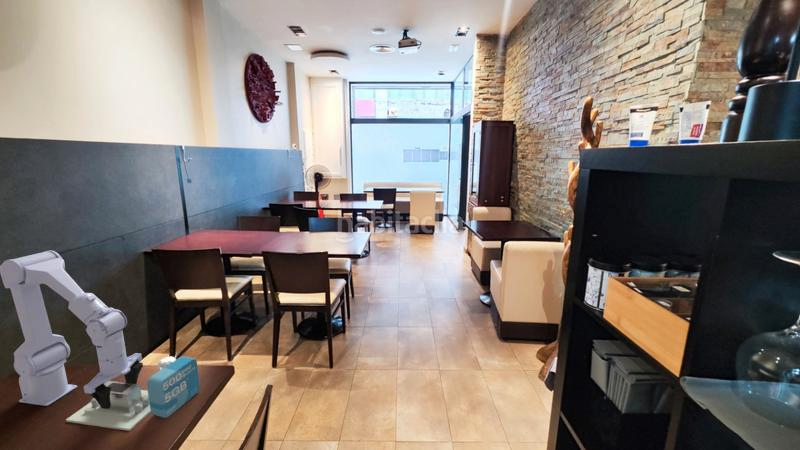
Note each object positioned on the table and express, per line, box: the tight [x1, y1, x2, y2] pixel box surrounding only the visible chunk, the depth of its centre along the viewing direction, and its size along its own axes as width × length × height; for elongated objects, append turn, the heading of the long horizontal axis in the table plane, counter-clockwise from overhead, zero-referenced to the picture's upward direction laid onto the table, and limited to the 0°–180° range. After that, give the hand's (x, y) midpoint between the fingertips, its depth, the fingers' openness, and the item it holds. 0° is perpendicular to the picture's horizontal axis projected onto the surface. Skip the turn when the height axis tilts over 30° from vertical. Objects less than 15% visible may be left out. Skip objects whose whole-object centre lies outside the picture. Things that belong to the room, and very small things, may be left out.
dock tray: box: [65, 389, 151, 432], centre depth 91 cm, size 19×13×3 cm
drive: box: [96, 380, 142, 413], centre depth 91 cm, size 10×4×6 cm, turn 83°
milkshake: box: [157, 351, 178, 371], centre depth 101 cm, size 4×5×10 cm
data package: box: [146, 355, 201, 419], centre depth 93 cm, size 12×4×12 cm, turn 166°
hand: (119, 397), depth 91 cm, fingers open, 7 cm apart
